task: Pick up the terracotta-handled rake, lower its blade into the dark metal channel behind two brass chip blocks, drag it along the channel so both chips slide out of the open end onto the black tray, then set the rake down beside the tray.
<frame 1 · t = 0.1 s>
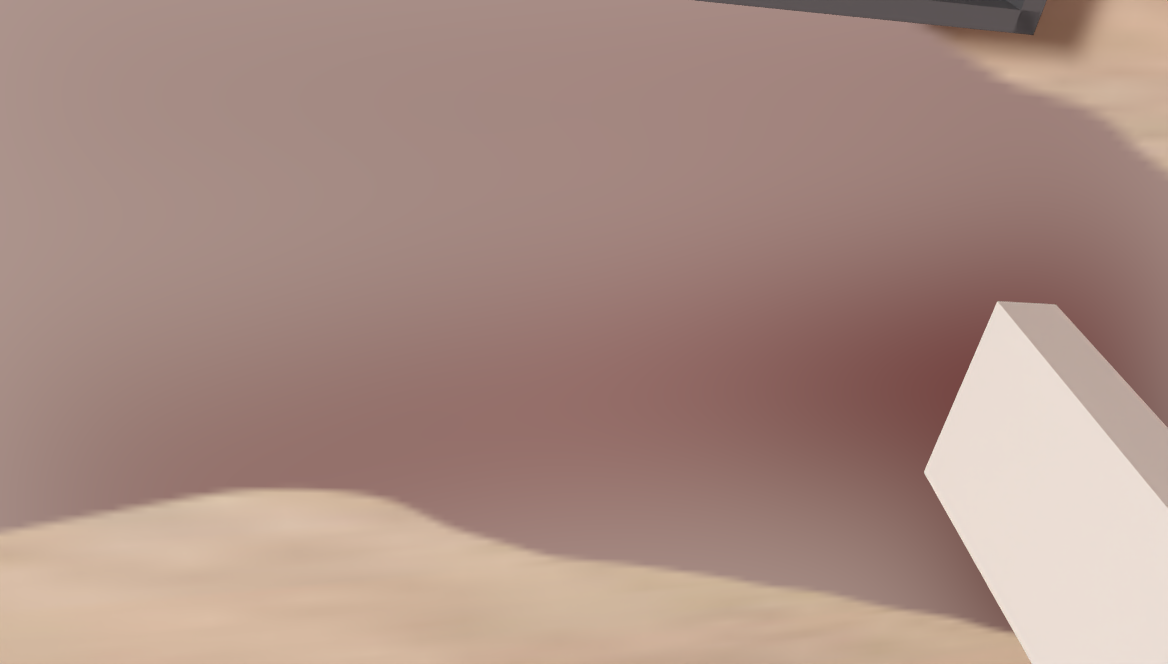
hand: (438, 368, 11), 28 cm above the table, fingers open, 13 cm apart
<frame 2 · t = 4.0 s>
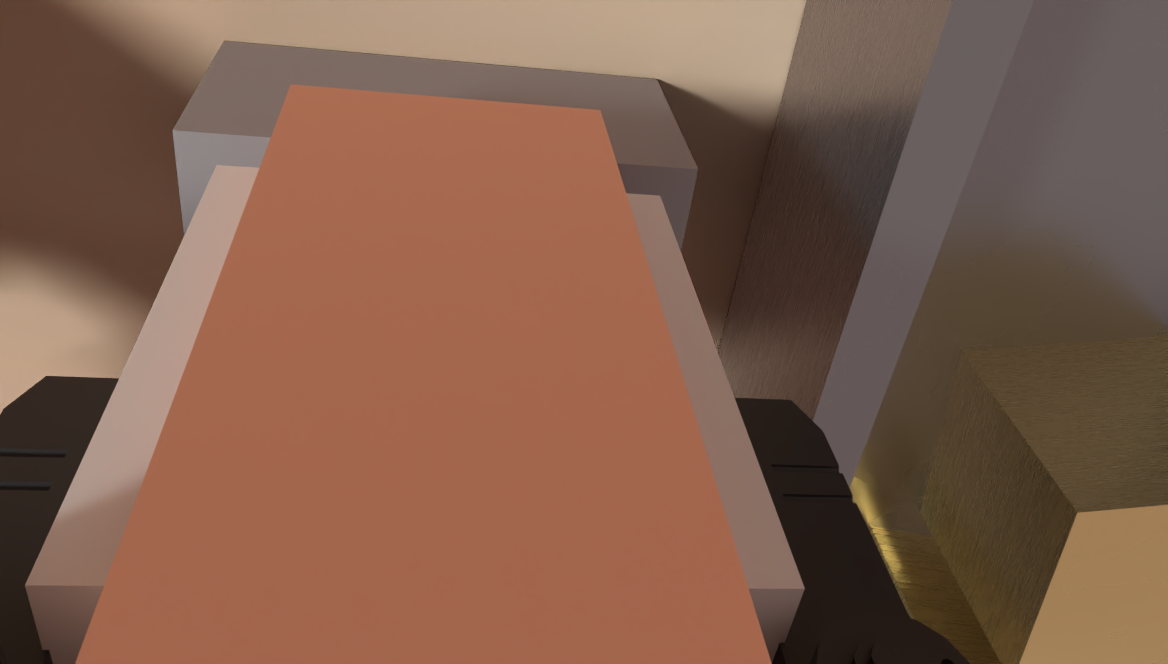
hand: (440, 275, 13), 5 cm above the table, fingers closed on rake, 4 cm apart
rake: (444, 132, 17), on the table, touching gripper
chip b: (910, 603, 21), point 2 cm above the table, touching rail
rail: (978, 310, 20), on the table
chip a: (1041, 428, 19), point 2 cm above the table, touching rail
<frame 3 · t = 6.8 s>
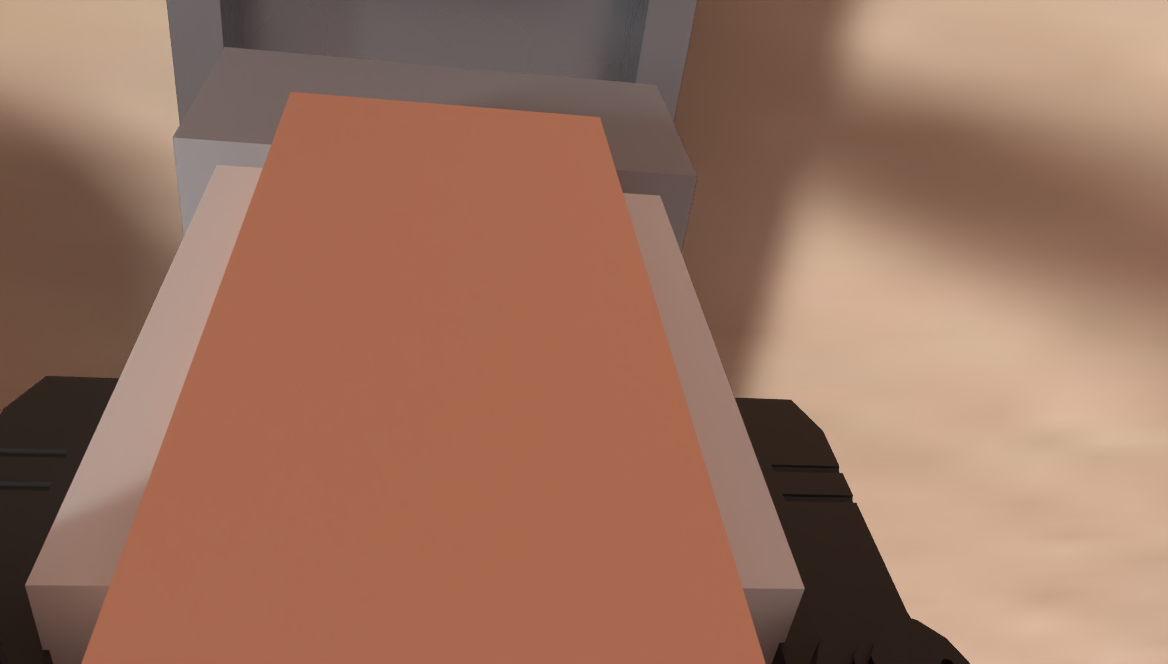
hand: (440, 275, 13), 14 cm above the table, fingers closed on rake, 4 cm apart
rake: (444, 137, 17), point 9 cm above the table, touching gripper
rail: (429, 189, 27), on the table
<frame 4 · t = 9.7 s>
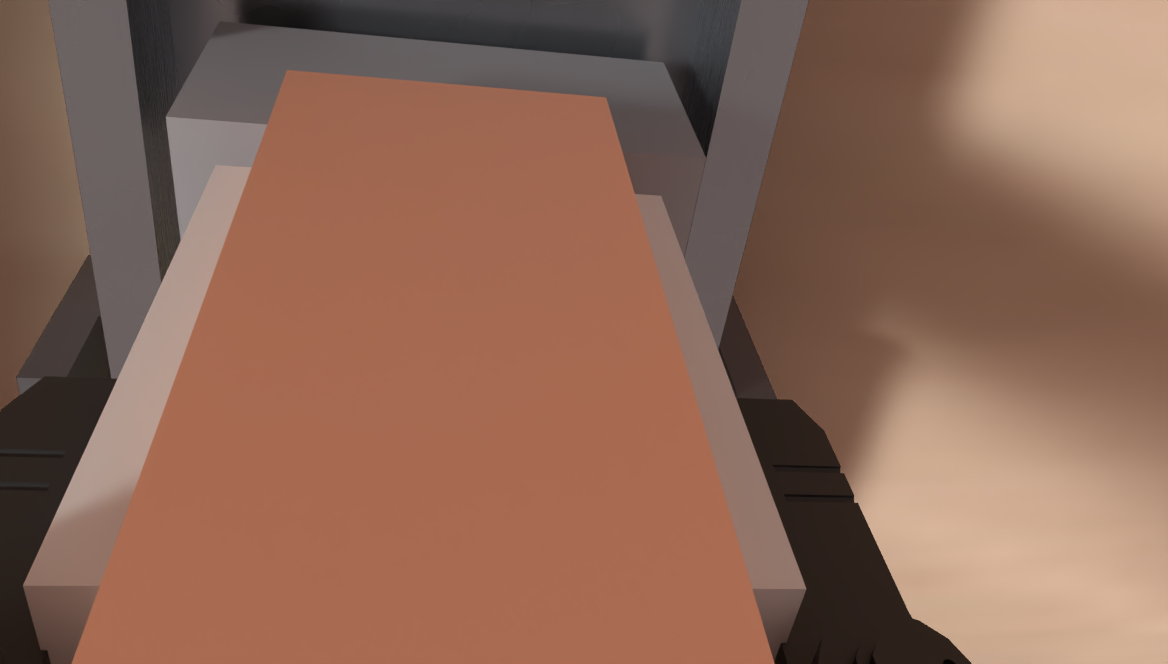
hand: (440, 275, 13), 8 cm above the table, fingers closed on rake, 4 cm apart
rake: (445, 115, 16), point 3 cm above the table, touching chip a, gripper
tray: (413, 531, 26), on the table
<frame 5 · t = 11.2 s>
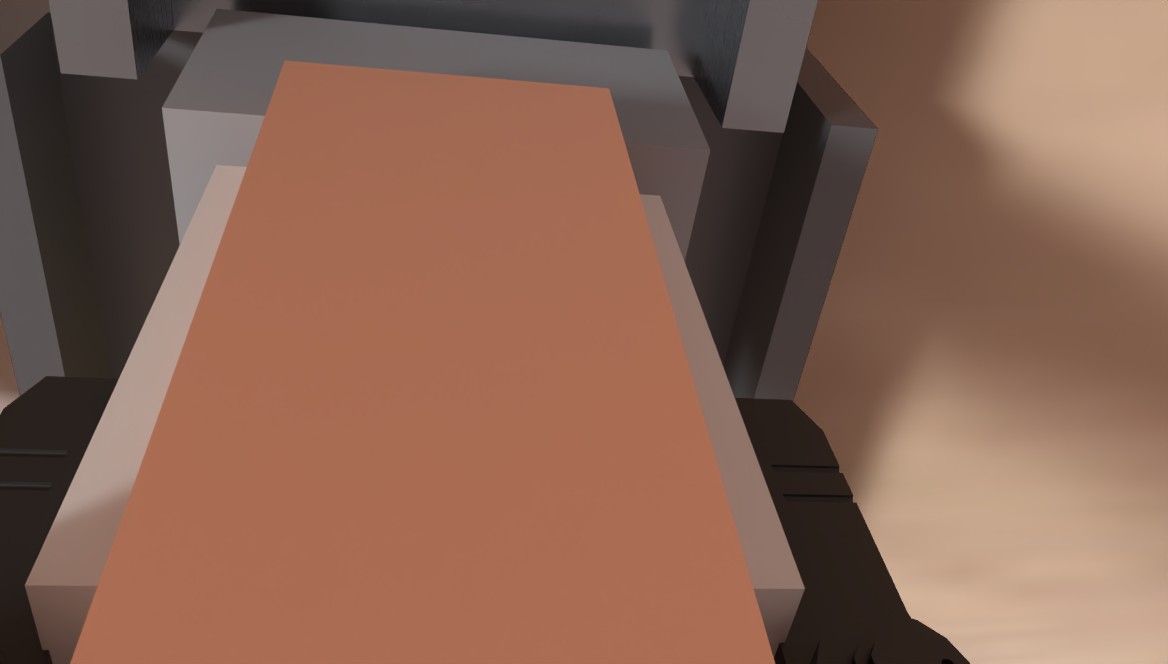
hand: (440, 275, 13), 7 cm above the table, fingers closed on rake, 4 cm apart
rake: (446, 104, 16), point 3 cm above the table, touching chip a, gripper
tray: (427, 357, 23), on the table
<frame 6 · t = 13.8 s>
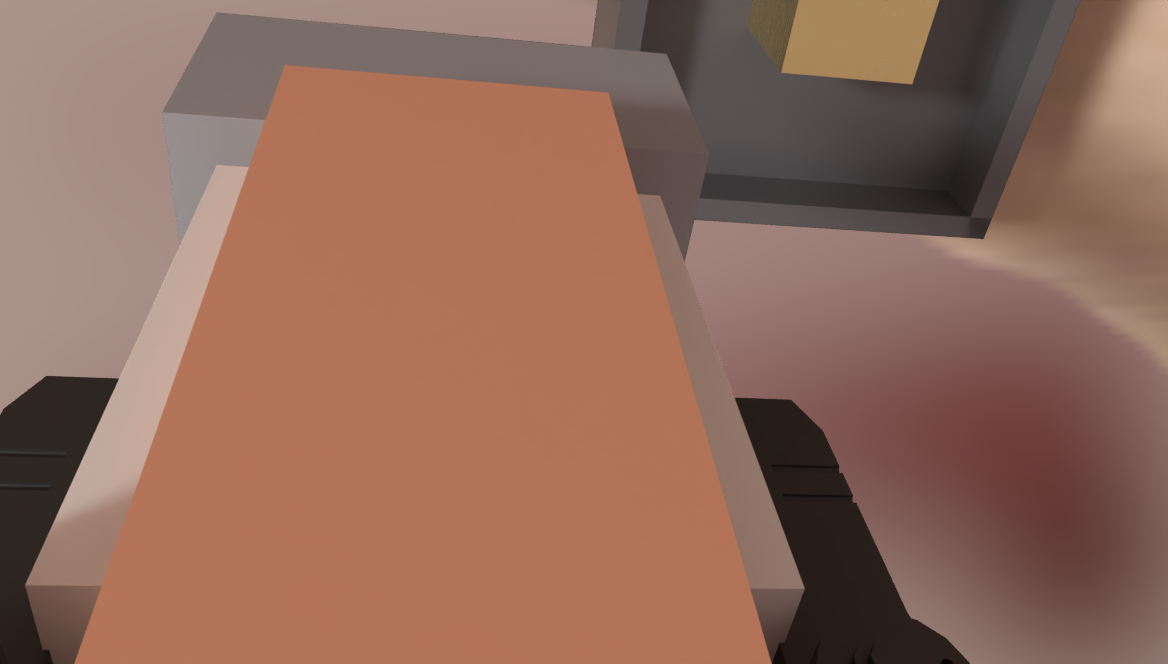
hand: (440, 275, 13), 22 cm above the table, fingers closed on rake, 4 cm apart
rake: (445, 107, 16), point 17 cm above the table, touching gripper
when the fingers open (6 cm above the table, at t = 16.2 s): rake drops 2 cm, on the table.
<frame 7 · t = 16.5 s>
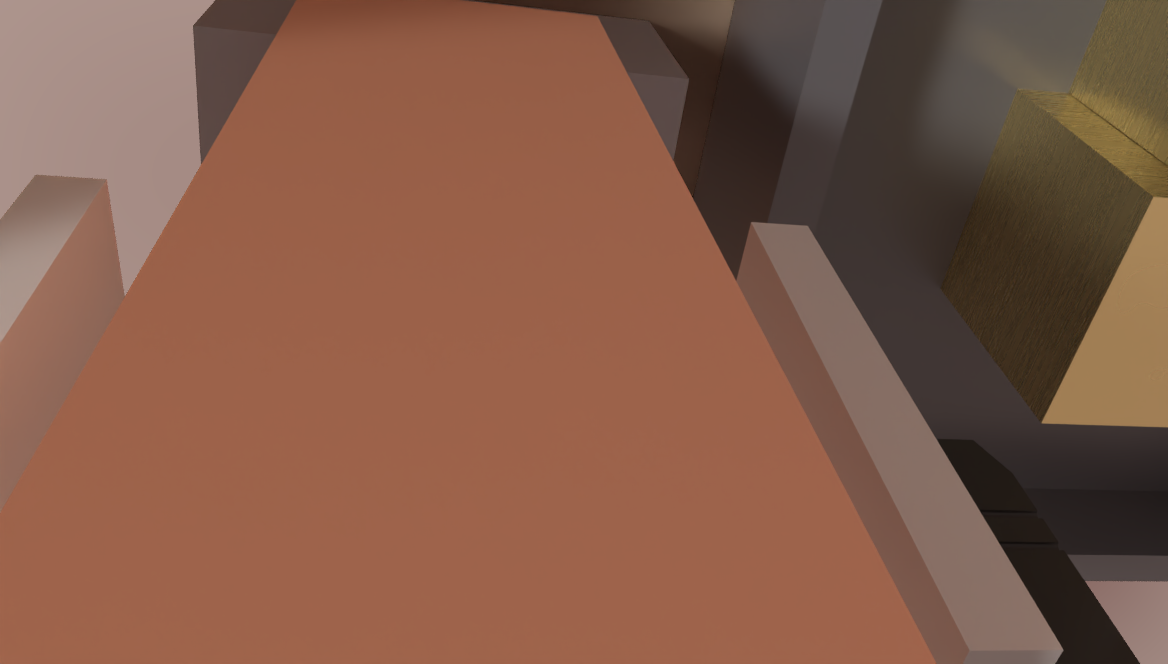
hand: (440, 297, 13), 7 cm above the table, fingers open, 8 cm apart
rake: (446, 69, 18), on the table
chip b: (1077, 202, 18), point 2 cm above the table, touching tray
tray: (1044, 149, 20), on the table
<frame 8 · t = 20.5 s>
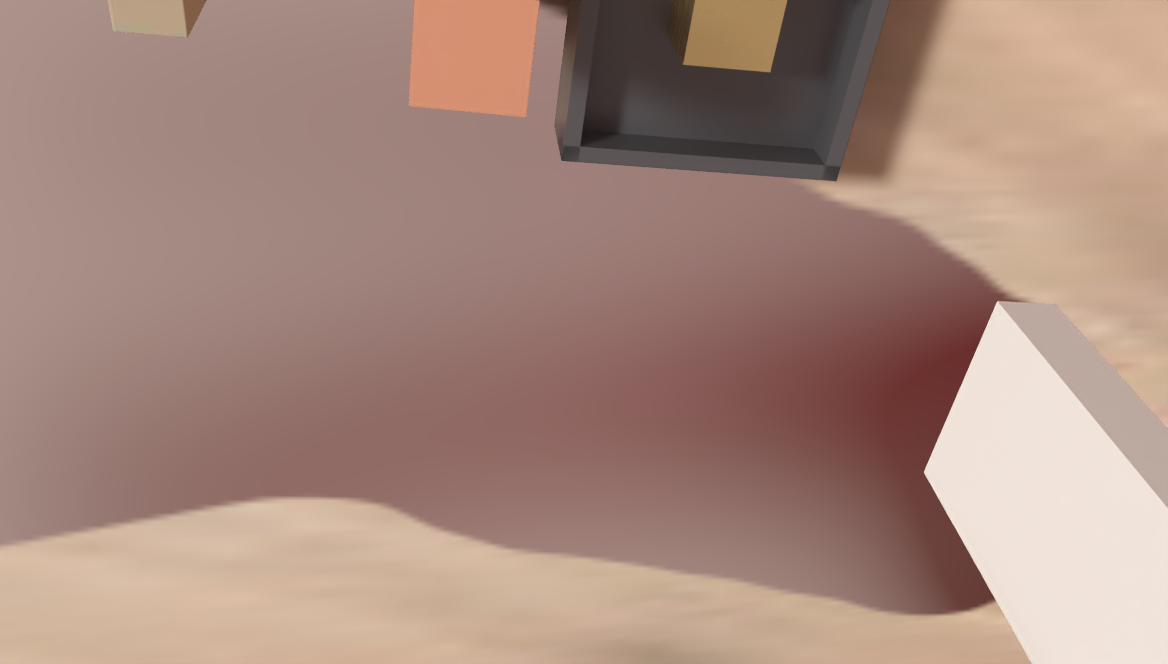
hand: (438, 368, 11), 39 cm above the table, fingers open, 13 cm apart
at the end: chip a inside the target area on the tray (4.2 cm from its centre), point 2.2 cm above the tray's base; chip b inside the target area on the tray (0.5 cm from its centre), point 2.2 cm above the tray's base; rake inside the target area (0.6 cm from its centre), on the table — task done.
